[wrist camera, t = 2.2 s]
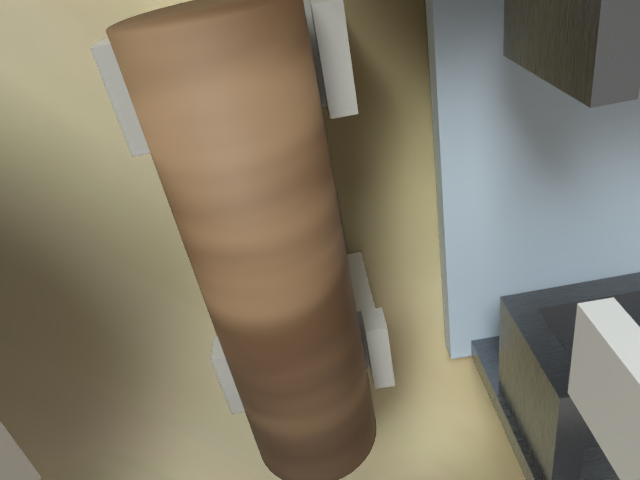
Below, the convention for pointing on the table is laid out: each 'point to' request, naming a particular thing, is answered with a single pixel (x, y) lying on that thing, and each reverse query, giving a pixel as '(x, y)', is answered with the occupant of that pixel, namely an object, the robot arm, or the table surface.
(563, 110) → the wall board
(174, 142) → the brown cylinder
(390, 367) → the rest blocks
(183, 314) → the table surface
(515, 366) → the brackets
